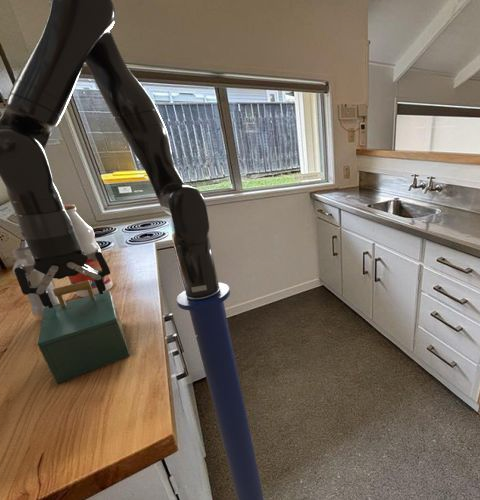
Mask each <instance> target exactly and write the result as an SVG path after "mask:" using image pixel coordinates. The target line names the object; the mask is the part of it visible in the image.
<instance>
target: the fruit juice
mask: <svg viewBox="0 0 480 500" xmlns="http://www.w3.org/2000/svg"><path fill="white" fill-rule="evenodd" d="M63 205H64V209H65V210H66V212H67V214H68V216H69V217H70V220H71V222H72V225H73V227H74V230H75V233H76V235H77V238H78V241H79V243H80V246H81V248H82V251H83V252H84V253H86V254H87V253H91V252H95V250H98V249H99V250H101V251H102V249H101V246H100V245H99V243H98V242H97V241H96V237H95V235H96V234H95V231H94V229H93V228H92V226H90V225H89V224H88V223H86V222H85V221H84V219H82V217H81V216H80V215H79V214H78V213H77V207H76V205H75V204H74V203H65V204H63ZM85 265H87V266H89V267H91V268H92V269H94V270H96V271H98V272H99V271H101V270H102V269H101V267H100V264H99V262H98V261H93V259H91V258H88V260H87V262H86V263H85ZM67 277H68V279H69V282H70V285H71V284H75V283H80V282H84V281H88V280H89V281H90V284H91V289H92V292H93V294H94V295H95V294H98V293H99V291H98V289H97V286H96V283H95V279H93V278H91V277H89V276H86V275H84V274H82V273H79V274H77V275H75V276H67ZM103 281H104V284H105V287H106V291H110V289H111V288H113V285H114V284H113V280H112V277H111V273H110V274H109V275H106V276H104V277H103ZM106 291H103V292H106ZM74 293H75V295H76V296H78V297H80V298H83V297H87V296H89V293H88V291H87V289H84V290H80V291H76V292H74Z"/></svg>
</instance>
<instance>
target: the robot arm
mask: <svg viewBox="0 0 480 500" xmlns="http://www.w3.org/2000/svg"><path fill="white" fill-rule="evenodd" d="M48 4H49V8H50V9H49V14H48V17H47V19H46V23H45V25H44V27H43V29H42V32H41V35H40V37H39V39H38V40H37V43H36V45H35V46H34V47H33V48H32V49H33V50H32V51H31V52H30V55H29V56H28V57H27V59H26V61H25V63H24V64H23V66H22V67H21V69H20V71H19V72H18V75H17V76H16V79H15V81H14V83H13V85H12V87H11V89H10V91H9V94H8V96H7V99H6V101H5V108H4V111H3V112H2V114H1V116H0V178H1V180H2V182H3V184H4V186H5V189H6V194H7V197H8V200H9V202H10V205H11V207H12V209H13V211H14V213H15V215H16V218H17V223H18V226H19V229H20V231H21V235H22V237H23V238H24V240H25V242H26V244H27V245H26V246H27V247H29V249H30V251H31V254H32V256H33V258H34V261H35V262H34V264H30V265H17V266H16V268H15V270H14V272H15V274H16V276H15V278H16V277H17V278H16V280H17V282H18V285H19V288H20V291H21V293H22V294H23V295H26V296H28V294H37V295H39V297H40V300H41V302H42V304H43V306H45V307H47V306H48V307H49V308H53V307H54V302H53V300H52V297H51V295H50V293H49V291H48V290H46V288H47V287H48V285H49V284H50V282H51V280H52V279H53V280H54V279H55V280H62V279H65V278H67V277H68V276H75V275H77V274H79V273H82V274H84V275H86V276H89V277H91V278H93V279H95V283H96V286H97V289H98V291H99V294H100V295H101V294H104V293H103V291H105V292H106V287H105V284H104V281H103V277H104V276H106V275H109V274H110V275H111V270H110V267H109V265H108V263H107V260H106V258H105V256H104V254H103V251H102V249H101V250H99V249H98V250H95V252H91V253H87V254H86V253H84V252H83V251H82V248H81V246H80V243H79V241H78V238H77V235H76V233H75V230H74V227H73V225H72V222H71V220H70V217H69V216H68V214H67V212H66V210H65V209H64V205H65V204H64V203H63V201H62V198H61V196H60V195H61V194H60V193H59V191H58V189H57V186H56V185H55V183H54V180H53V176H52V175H53V174H52V172H51V171H52V170H51V168H50V165H49V160H48V158H47V155H46V152H45V149H46V148H47V145H48V142H49V140H50V137H51V134H52V132H53V131H54V129H55V128H56V127H57V126H58V124H59V123H60V122H61V119H62V117H63V115H64V113H65V111H66V109H67V106H68V105H69V102H70V100H71V98H72V94H73V92H74V90H75V87H76V84H77V81H78V79H79V76H80V74H81V71H82V69H83V67H84V64H86V66H87V68H88V70H89V72H90V73H91V76H92V78H93V80H94V82H95V84H96V87H97V88H98V90H99V92H100V94H101V96H102V99H103V100H104V102H105V103H106V106H107V108H108V110H109V112H110V115H111V116H112V117H113V119H114V121H115V123H116V125H117V127H118V129H119V131H120V132H121V134H122V136H123V138H124V139H125V141H126V142H127V144H128V145H129V147H130V149H131V150H132V153H133V154H134V156H135V157H136V159H137V161H138V162H139V164H140V165H141V166H142V168H143V170H144V172H145V174H146V175H147V178H148V179H149V182H150V184H151V186H152V190H153V192H154V194H155V197H156V199H157V201H158V203H159V206H160V207H161V209H162V210H163V211H164V212H165V213H166V214H167V215H169V216H171V220H172V225H173V233H172V234H171V239H172V243H173V247H174V252H175V255H176V258H177V259H176V260H177V263H178V267H179V271H180V274H181V279H182V282H183V286H184V290H185V291H186V296H187V299H189V300H193V301H199V300H205V299H208V298H211V297H213V296H215V295H217V294H218V293H219V292H220V287H219V283H218V282H219V278H218V274H217V273H218V272H217V269H216V263H215V259H214V255H213V249H212V244H211V241H210V235H209V233H210V220H209V215H208V214H209V213H208V208H207V203H206V200H205V197H204V195H203V194H202V192H201V191H200V190H198V188H195V187H193V186H190V185H187V184H186V183H185V181H184V180H183V178H182V176H181V175H180V173H179V171H178V169H177V166H176V165H175V162H174V159H173V153H172V148H171V143H170V138H169V134H168V130H167V128H166V126H165V123H164V121H163V119H162V117H161V115H160V112H159V110H158V109H157V107H156V105H155V103H154V101H153V99H152V97H150V95H149V94H148V92H147V90H145V88H144V87H143V86H142V84H141V83H140V82H139V81H138V79H137V78H136V77H135V76H134V74H133V73H132V72H131V71H130V69H129V67H128V66H127V64H126V63H125V61H124V58H123V56H122V54H121V52H120V50H119V48H118V46H117V43H116V41H115V39H114V36H113V33H112V30H111V29H112V28H113V26H114V24H115V21H116V9H115V5H114V2H113V0H48ZM88 258H91V259H93V261H98V262H99V264H100V267H101V269H102V270H101V271H99V272H98V271H96V270H94V269H92V268H91V267H89V266H87V265H85V263H86V262H87V260H88ZM33 269H35V270H37V271H39V272H41V273H43V274H45V275H44V277H43V278H42V280H41V282H40V284H39V285H38V286H32V285H31V282H30V279H29V277H28V276H29V275H30V274H31V272H32V270H33Z"/></svg>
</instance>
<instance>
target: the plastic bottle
mask: <svg viewBox="0 0 480 500" xmlns="http://www.w3.org/2000/svg"><path fill="white" fill-rule="evenodd" d="M12 255H13V258H14V259H16V261H15V263H14V265H13V267H12V274H13V276H14V277H15V279H17V277H16V274H15V272H14V270H15V268H16V266H17V265H30V264H34V262H35V261H34V258H33V256H32V254H31V251H30V249H29V247H28V246H23V247H19V248H15V249H12ZM44 275H45V274H43V273H41V272H39V271H37V270H35V269H33V270H32V272H31V274H30V275H29V276H28V277H29V279H30V282H31V285H32V286H38V285H39V284H40V282H41V280H42V278H43V277H44ZM55 288H57V287H56V284H55V282H54V278H53V279H52V280H51V282H50V284H49V285H48V287H47V288H46V290H48V291H49V293H50V295H51V297H52V300H53V302H54V305H57V304H60V302H59V300H58V298H57V296H55V294H54V292H53V289H55ZM27 297H28V300H29V303H30V307H31V313H32V315H33V316H34V317H35V319H36V320H39V321H42V317H43V312H44V308H46V307H45V306H43V304H42V302H41V300H40V297H39V295H37V294H28V295H27ZM64 302H66V301H65V300H64ZM47 307H48V306H47Z"/></svg>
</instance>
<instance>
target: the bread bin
mask: <svg viewBox="0 0 480 500" xmlns="http://www.w3.org/2000/svg"><path fill="white" fill-rule="evenodd" d="M111 297H112V301H113V305H114V310H115V314H116V318H117V322H115V323H112V324H109V325H106V326H103V327H100V328H97V329H93V330H90V331H87V332H84V333H81V334H78V335H75V336H72V337H69V338H66V339H63V340H60V341H57V342H53V343H50V344H47V345H44V346H41V347H39V346H38V348H39V350H40V353H41V355H42V357H43V359H44V361H45V362H46V365H47V366H48V369H49V370H50V372H51V374H52V377H53V378H54V380H55V382H56V385H57V384H61V383H63V382H66V381H68V380H71V379H73V378H76V377H78V376H82V375H84V374H86V373H89V372H91V371H93V370H96V369H99V368H102V367H104V366H107V365H109V364H111V363H114V362H117V361H120V360H121V359H124V358H127V357H129V356H130V352H129V348H128V343H127V340H126V335H125V331H124V327H123V324H122V321H121V318H120V315H119V312H118V310H117V307H116V304H115V302H114V298H113V296H112V295H111Z"/></svg>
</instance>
